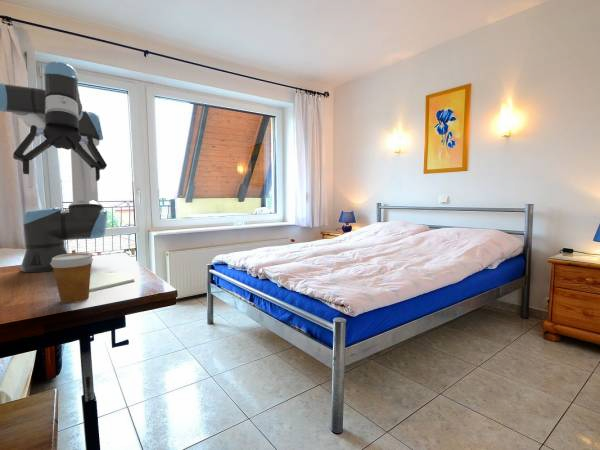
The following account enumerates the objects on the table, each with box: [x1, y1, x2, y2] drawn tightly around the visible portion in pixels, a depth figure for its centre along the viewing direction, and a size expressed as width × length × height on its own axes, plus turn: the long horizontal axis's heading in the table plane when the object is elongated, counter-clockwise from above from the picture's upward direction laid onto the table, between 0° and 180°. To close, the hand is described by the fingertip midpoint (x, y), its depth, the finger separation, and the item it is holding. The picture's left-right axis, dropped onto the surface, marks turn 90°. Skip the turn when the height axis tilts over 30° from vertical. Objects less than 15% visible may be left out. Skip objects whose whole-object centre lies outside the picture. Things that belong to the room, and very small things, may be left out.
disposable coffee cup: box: [50, 254, 94, 304], centre depth 87 cm, size 10×10×12 cm
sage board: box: [89, 272, 135, 293], centre depth 104 cm, size 16×14×1 cm
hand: (64, 188), depth 85 cm, fingers open, 13 cm apart
